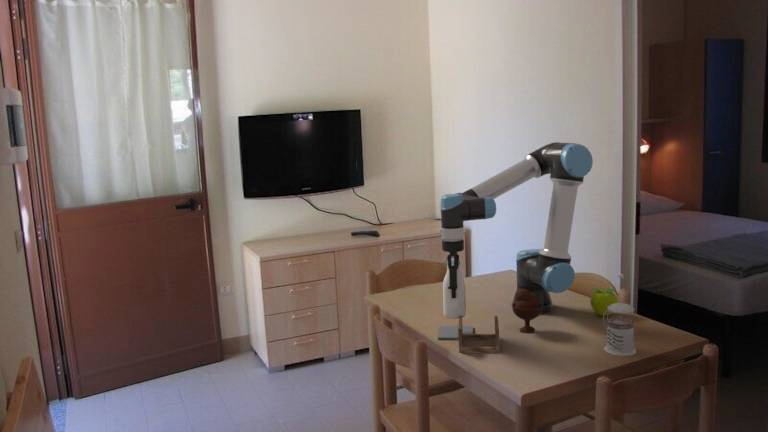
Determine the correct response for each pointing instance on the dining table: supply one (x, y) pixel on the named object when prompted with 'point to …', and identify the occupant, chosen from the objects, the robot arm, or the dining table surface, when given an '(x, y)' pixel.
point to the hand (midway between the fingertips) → (454, 302)
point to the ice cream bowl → (527, 308)
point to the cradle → (479, 336)
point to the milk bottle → (461, 309)
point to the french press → (620, 330)
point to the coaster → (454, 332)
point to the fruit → (602, 301)
